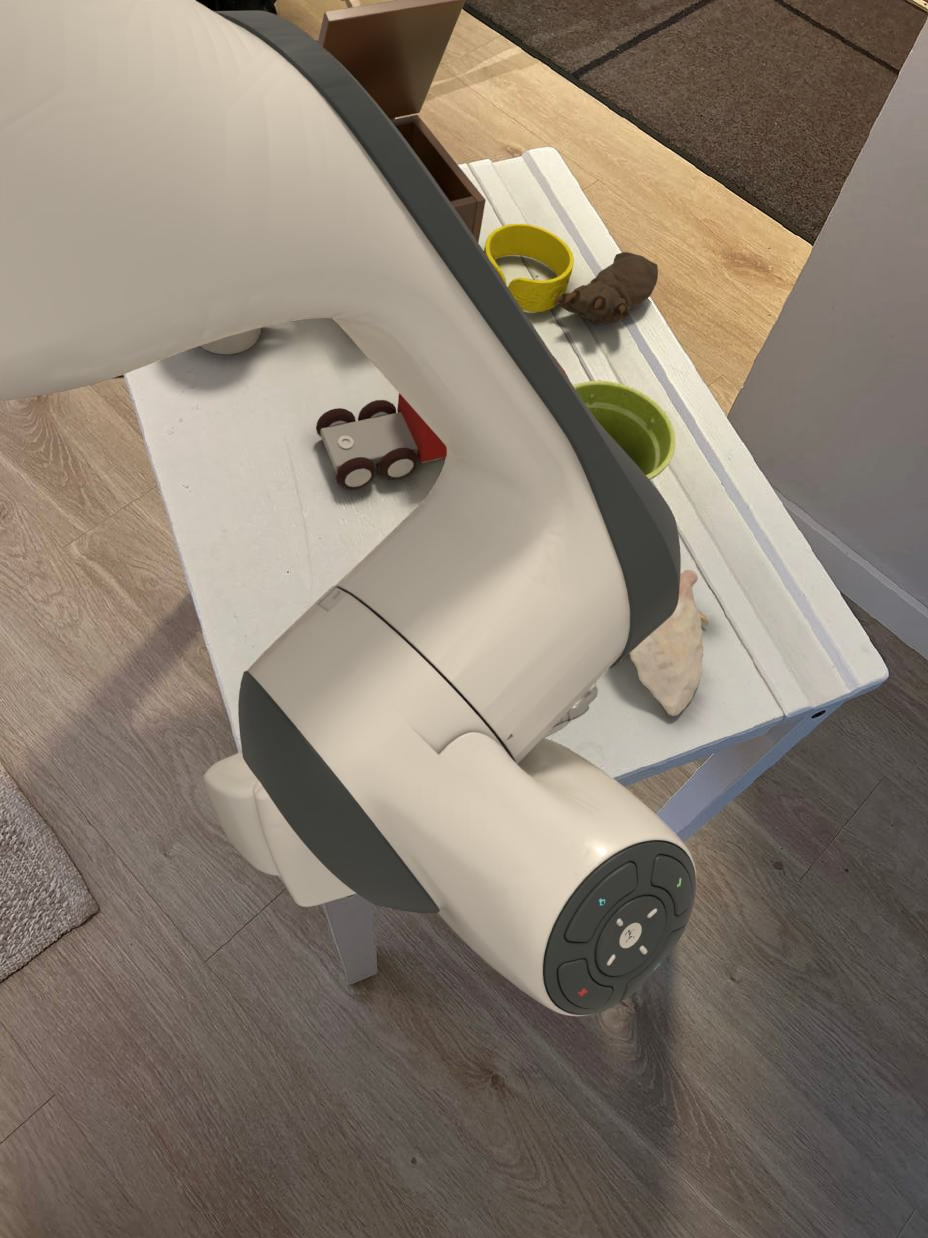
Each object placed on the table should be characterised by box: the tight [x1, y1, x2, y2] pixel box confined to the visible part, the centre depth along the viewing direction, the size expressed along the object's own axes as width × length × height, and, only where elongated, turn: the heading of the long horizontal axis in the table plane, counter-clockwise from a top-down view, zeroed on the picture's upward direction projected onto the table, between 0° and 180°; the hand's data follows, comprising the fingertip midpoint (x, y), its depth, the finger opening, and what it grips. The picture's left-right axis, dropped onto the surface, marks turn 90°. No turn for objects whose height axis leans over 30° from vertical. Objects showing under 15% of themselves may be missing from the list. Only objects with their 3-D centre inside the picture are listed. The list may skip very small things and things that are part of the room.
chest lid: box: [317, 0, 466, 120], centre depth 72 cm, size 12×11×5 cm
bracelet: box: [483, 223, 575, 313], centre depth 85 cm, size 7×8×3 cm
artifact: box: [629, 569, 704, 717], centre depth 66 cm, size 7×3×10 cm
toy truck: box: [315, 356, 570, 490], centre depth 72 cm, size 8×19×10 cm, turn 112°
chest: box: [390, 114, 486, 244], centre depth 80 cm, size 12×11×11 cm
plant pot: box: [572, 380, 677, 481], centre depth 71 cm, size 9×9×9 cm
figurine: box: [554, 251, 659, 325], centre depth 85 cm, size 6×4×12 cm
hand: (349, 699), depth 59 cm, fingers closed on robot figurine, 7 cm apart
